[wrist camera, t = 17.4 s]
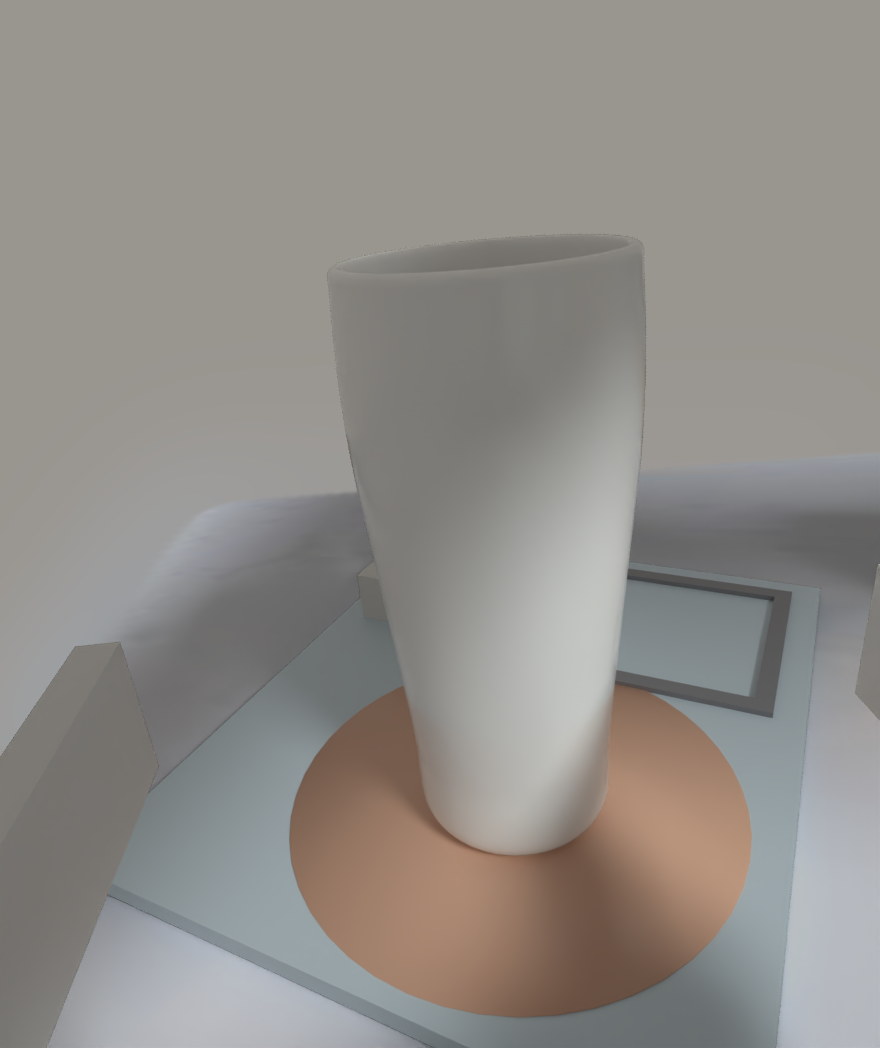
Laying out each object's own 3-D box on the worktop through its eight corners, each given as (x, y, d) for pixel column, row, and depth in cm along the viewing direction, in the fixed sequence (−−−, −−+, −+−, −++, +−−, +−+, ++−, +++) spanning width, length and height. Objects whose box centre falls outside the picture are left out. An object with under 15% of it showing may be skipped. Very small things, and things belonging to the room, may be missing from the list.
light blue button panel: (818, 600, 31) (820, 583, 31) (759, 1200, 14) (764, 1176, 13) (429, 544, 39) (428, 530, 39) (77, 879, 22) (69, 859, 21)
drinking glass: (354, 794, 23) (261, 270, 17) (513, 690, 27) (485, 233, 20) (519, 942, 18) (475, 281, 12) (683, 790, 22) (716, 230, 16)
